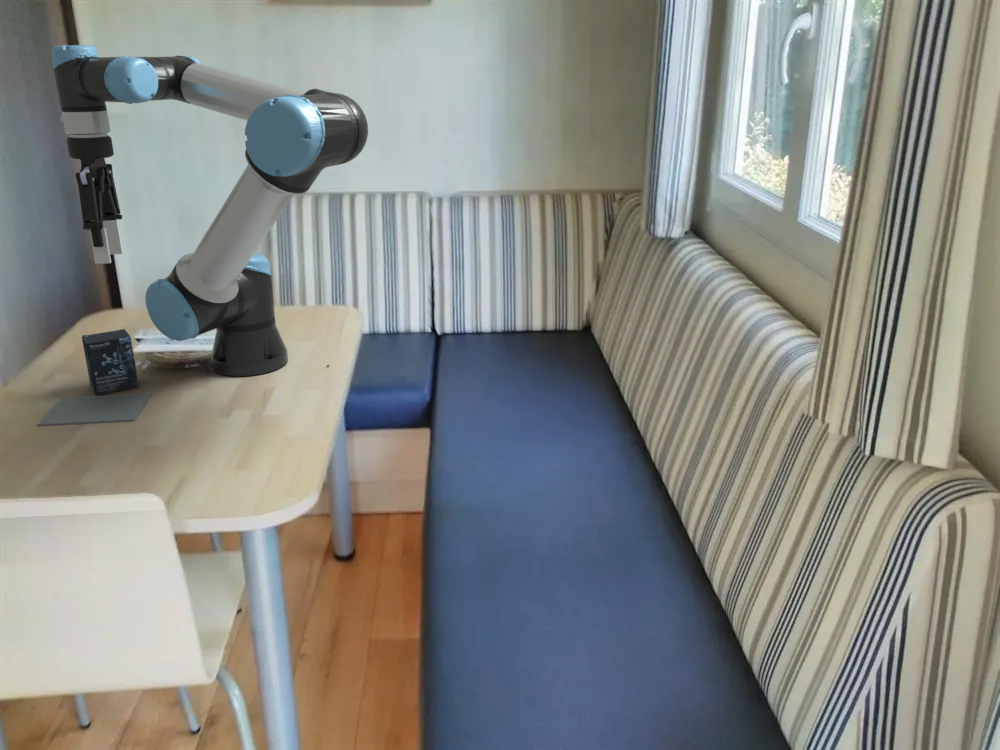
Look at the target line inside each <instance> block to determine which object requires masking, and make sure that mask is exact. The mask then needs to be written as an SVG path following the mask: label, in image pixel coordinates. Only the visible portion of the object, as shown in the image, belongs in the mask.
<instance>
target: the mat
mask: <svg viewBox="0 0 1000 750" xmlns="http://www.w3.org/2000/svg"><path fill="white" fill-rule="evenodd" d="M151 397H152V393H140V394H139V393H137V394H136V393H134V394H117V395H116V394H115V395H94V396H92V395H91V396H77V397H76V396H73V397H62V398H60V399H59V400H58V401H57V402H56V403H55V405H53V406H52V408H51V409H50V410H49V411H48V412H47V413H46V414H45V415H44V417H43V418H42V419H40V420H39V422H37V427H42V426H43V427H45V426H46V425H47V426H62V425H83V424H85V425H86V424H100V423H101V424H103V423H120V422H122V423H124V422H135V421H136V419H137V418H138V416H139V415H140V413H141V412H142V410H143V409H144V407H146V406H145V405H146V404H147V402H148V401H149V400H150V399H151Z"/></svg>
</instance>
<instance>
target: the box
mask: <svg viewBox="0 0 1000 750" xmlns="http://www.w3.org/2000/svg"><path fill="white" fill-rule="evenodd" d="M81 340H82V346H83V352H84V357H85V361H86V363H85V364H86V368H87V369H86V370H87V373H88V380H89V385H90V389H91V390H92V392H93V393H94V396H101V395H103V394H109V393H114V392H120V391H124V390H130V389H138V388H139V382H138V381H139V379H138V375H137V369H136V362H135V357H134V350H133V349H134V348H133V344H132V337H131V335H130V334H129V333H128V331H126V329H124V328H123V329H117V330H111V331H105V332H99V333H93V334H84V335H81Z"/></svg>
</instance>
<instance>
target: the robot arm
mask: <svg viewBox="0 0 1000 750" xmlns="http://www.w3.org/2000/svg"><path fill="white" fill-rule="evenodd" d="M51 57H52V68H53V69H52V72H53V75H54V78H55V84H56V89H57V96H58V99H59V105H60V110H61V115H62V116H60V118H59V120H60V122H62V123H63V127H64V130H65V131H64V133H65V134H66V135H69V136H68V137H67V139H66V144H67V149H68V150H67V151H68V156H69V157H70V159H73V160H74V159H75V160H80V170H79V171H80V172H78V171H77V172H75V179H76V183H77V186H78V194H79V195H78V196H79V201H80V210H81V217H82V222H83V223H82V224H83V226H82V229H83V231H84V230H88V231H89V237H90V243H91V247H92V254H93V260H94V264H95V265H96V264H97V265H100V264H111V263H112V258H111V255H122V254H124V250H123V245H122V244H123V243H122V239H121V232H120V226H119V220H122V219H123V215H122V214H121V209H120V204H119V200H118V195H117V189H116V183H115V179H114V173H113V164H112V163H106V159H108V158H111V157H113V156H114V155H115V152H114V147H113V146H114V145H113V140H112V137H111V136H110V135H108V134H110V132H111V126H110V120H109V115H108V110H107V104H106V102H107V103H124V104H128V105H129V104H130V105H132V104H142V103H143V104H144V103H147V102H151V101H164V100H165V101H167V100H170V101H171V100H173V101H179V102H182V103H186V104H190V105H193V106H197V107H200V108H204V109H206V110H210V111H213V112H217V113H220V114H222V115H223V114H224V115H227V116H229V117H230V116H231V117H234V118H237V119H240V120H243V121H246V123H245V124H246V125H245V128H244V136H246V139H247V140H245V142H244V144H245V151H244V159H245V160H246V163H247V166H246V168H245V169H244V171H243V172H242V174H241V175H240V177H239V178H238V180H237V182H236V184H235V185H234V187H233V188H232V190H231V191H230V194H229V195H228V197H227V198H226V199H225V201H224V203H223V204H222V206H221V208H220V210H219V211H218V213H217V214H216V216H215V218H214V219H213V221H212V222H211V224H210V226H209V227H208V229H207V230H206V232H205V234H204V235H203V237H202V239H201V240H200V242H199V243H198V245H197V247H196V248H195V249H194V252H191V253H190V252H189V253H186V254H184V255H182V256H181V257H180V258H179V259H178V260H177V262H176V264H175V265H174V266H173V268H172V270H171V272H170V273H169V275H168V276H166V277H165V278H159V279H157V280H155V281H154V282H152V283H150V284H149V285H148V287H147V289H146V291H145V300H144V301H145V307H146V310H147V312H148V316H149V318H150V320H151V322H152V323H153V325H154V326H155V327H156V329H157V330H158V331H159V332H160V333H161V334H162V335H164V336H165V337H166V338H168V339H170V340H173V341H179V342H181V341H182V342H183V341H186V340H189V339H195V338H197V337H199V336H201V335H203V334H206V333H209V332H211V331H213V330H215V329H216V332H215V337H214V341H213V347H212V351H211V356H210V361H211V367H212V368H211V369H212V370H213V371H214V372H216V373H218V374H220V375H225V376H230V377H233V376H234V377H245V376H247V377H249V376H257V375H263V374H264V375H265V374H268V373H271V372H274V371H277V370H279V369H281V368H283V367H284V366H285V365H287V363H288V362H289V355H288V349H287V347H286V345H285V344H286V343H285V342H284V340H283V337H282V336H281V334H280V331H279V329H278V327H277V323H276V313H275V303H274V294H273V293H274V292H273V291H274V290H273V281H272V280H273V279H272V276H273V275H272V272H271V267H270V261H269V259H268V258H267V257H266V255H265V256H264V255H263V254H259V253H255V252H257V250H258V249H259V247H260V245H261V244H262V242H263V241H264V240H265V238H266V237H267V235H268V234H269V232H270V231H271V229H272V228H273V226H274V225H275V223H276V222H277V221H278V219H279V217H280V216H281V214H282V213H283V211H284V210H285V208H286V207H287V206H288V204H289V202H290V201H291V199H292V198H293V196H295V195H298V196H299V195H303V194H305V193H307V192H308V191H309V190H310V188H311V187H312V185H313V184H314V183H315V181H316V180H317V178H318V177H319V176H320V174H321V173H322V171H323V170H324V169H326V168H329V167H335V166H339V165H344V164H346V163H349V162H351V161H352V160H354V159H355V158H357V157H358V156H359V155H360V153H361V152H362V151H363V149H364V147H365V146H366V143H367V141H368V137H369V125H368V120H367V116H366V115H365V112H364V111H363V109H362V108H361V106H360V104H358V103H357V102H356V101H355V100H354V99H353V98H352V97H350V96H347V95H345V94H342V93H337V92H331V91H326V90H322V89H319V88H313V87H312V88H309V89H307V90H306V91H304V90H303V91H302V90H299V89H295V88H291V87H288V86H284V85H280V84H276V83H273V82H270V81H265V80H261V79H258V78H254V77H250V76H248V75H245V74H240V73H237V72H234V71H233V72H232V71H228V70H225V69H222V68H218V67H213V66H211V65H206V64H204V63H202V62H201V61H200V60H199V59H197V58H196V57H192V56H185V55H180V54H178V55H174V56H132V55H131V56H130V55H129V56H125V55H123V56H122V55H121V56H104V57H102V56H101V57H100V56H99V53H98V49H97V47H95V46H94V45H90V44H89V45H87V44H86V45H85V44H84V45H83V44H78V45H77V44H74V45H73V44H71V45H63V44H61V45H60V44H59V45H58V44H57V45H55V46H54V47H52V49H51Z"/></svg>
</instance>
